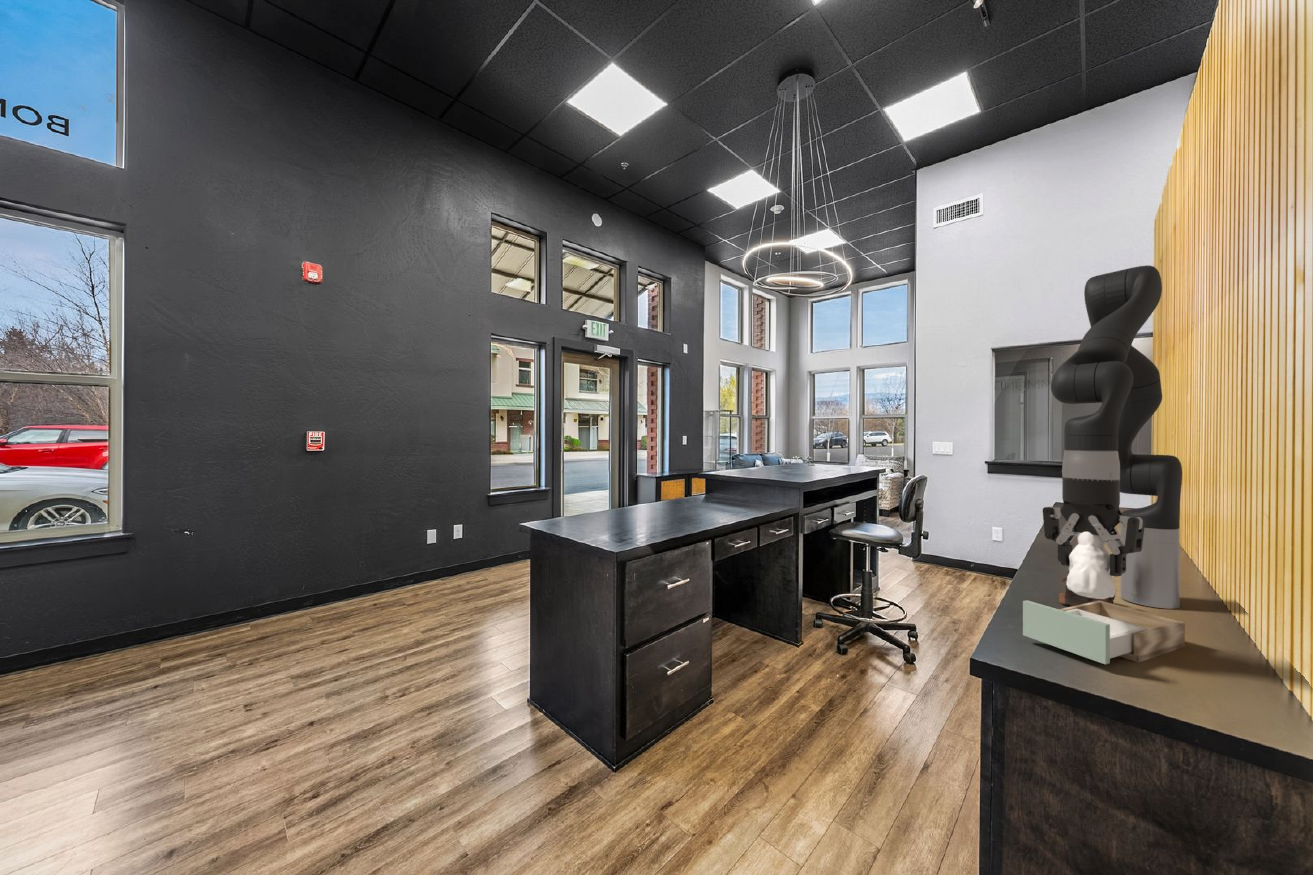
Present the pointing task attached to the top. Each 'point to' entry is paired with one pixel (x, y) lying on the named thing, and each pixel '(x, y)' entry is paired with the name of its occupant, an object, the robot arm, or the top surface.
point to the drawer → (1079, 631)
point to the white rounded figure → (1090, 568)
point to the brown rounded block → (1078, 598)
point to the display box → (1149, 643)
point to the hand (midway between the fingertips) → (1090, 569)
